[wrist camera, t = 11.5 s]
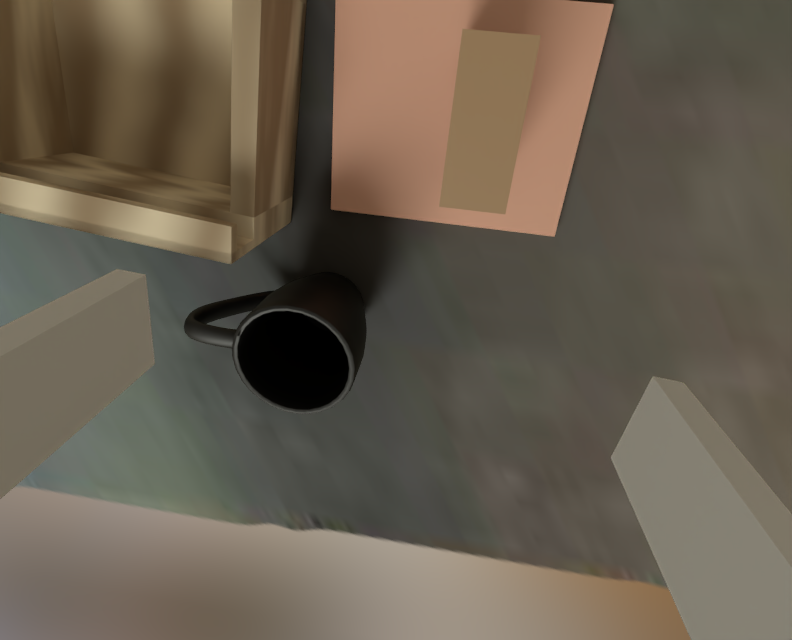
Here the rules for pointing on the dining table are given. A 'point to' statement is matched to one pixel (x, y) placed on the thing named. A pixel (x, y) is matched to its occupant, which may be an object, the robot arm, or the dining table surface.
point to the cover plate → (421, 98)
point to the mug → (292, 341)
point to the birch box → (152, 119)
